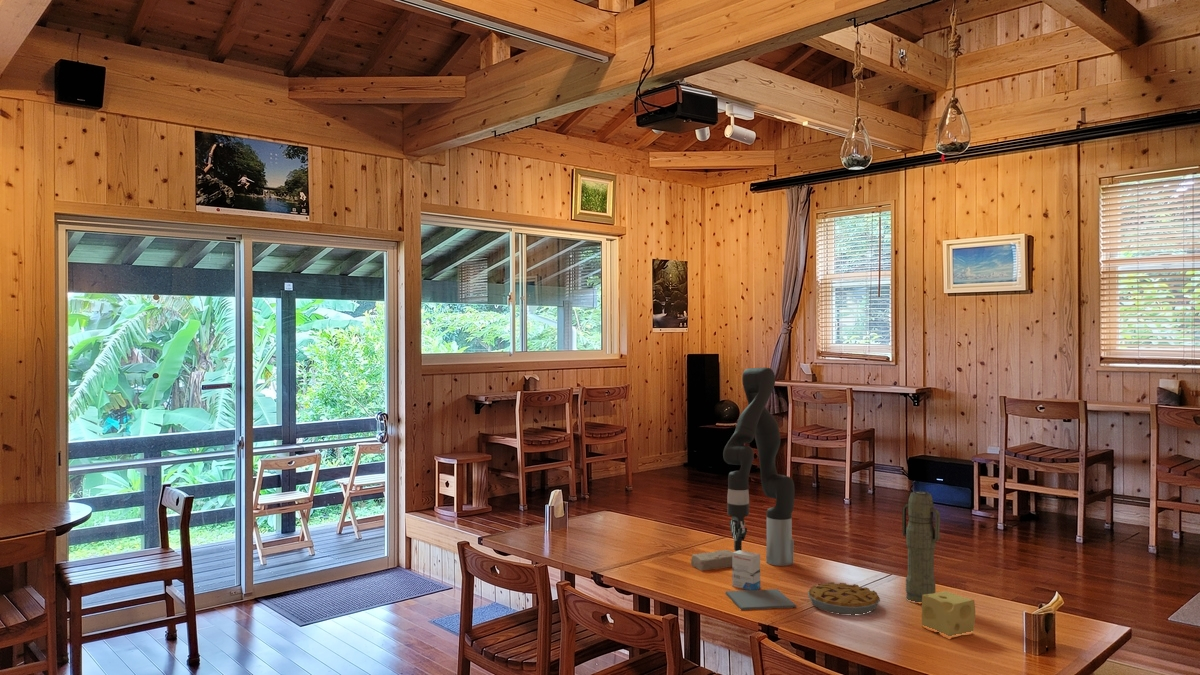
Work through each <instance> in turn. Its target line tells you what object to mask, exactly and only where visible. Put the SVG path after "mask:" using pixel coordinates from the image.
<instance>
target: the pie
mask: <svg viewBox="0 0 1200 675" xmlns="http://www.w3.org/2000/svg"><path fill="white" fill-rule="evenodd" d="M807 595H808V598H810V600H811V603H812V605H813V606H815V607H816V608H817V607H818V609H819V610H822V611H824V610H825V611H826V612H827V611H828V612H827V613H831V612H833V613H832V614H836V613H839V614H838V615H841V614H851V615H855V614H863V613H867V612H869V611H872V610H873V609H874V608H875V609H876V607H877V605H878V604H879V603H880V602H881V599H880V596H879V595H878V593H877V592H876V591H875V590H870V588H868V587H865V586H864V587H861V586H860V585H858V584H855V583H854V584H847V583H846V582H845V583H844V582H839V583H835V582H828V583H818V584H817V585H812V586H811V587H810V588H809V590H808V591H807ZM875 609H874V610H875ZM874 610H873V611H874ZM873 611H872V612H873ZM867 614H868V613H867ZM851 615H850V616H851Z"/></svg>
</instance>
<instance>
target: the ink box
mask: <svg viewBox="0 0 1200 675" xmlns="http://www.w3.org/2000/svg"><path fill="white" fill-rule="evenodd" d="M732 552H733V553H732V567H731V569H732V572H731V573H732V587H735V588H738V589H742V590H760V589H761V587H762V586H761V554H760V553H755V552H751V551H745V550H738V551H735V550H734V551H732Z"/></svg>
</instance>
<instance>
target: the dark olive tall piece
mask: <svg viewBox="0 0 1200 675" xmlns="http://www.w3.org/2000/svg"><path fill="white" fill-rule="evenodd" d="M907 510H908V511H907ZM907 512H908V514H907ZM901 515H902V516H901V517H902V521H901V522H902V523H901V524H902V525H901V529H902V530H901V531H902V536H904V538H905V540H906V542H905V543H906V547H907V575H906V577H905V593H906V597H905V598H907V599H908V600H911V601H915V602H922V595H925V594H933V593H936V579H935V576H934V573H935V572H934V570H935V568H934V566H935V564H934V563H935V562H934V559H935V554H934V552H935V550H936V542H938V541H940V538H941V535H940V530H941V529H940V528H941V513H940V511H939V510H938V509H937V508H935V507H934V500H933V497H932V494H931V493H929V491H923V490H914V491H911V492H910V495H909V497H908V503H906V504H904V506H903V507H902V513H901ZM907 515H908V520H907ZM933 519H934V520H933ZM907 522H908V523H907ZM907 599H906V600H907ZM908 600H907V601H908Z"/></svg>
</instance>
